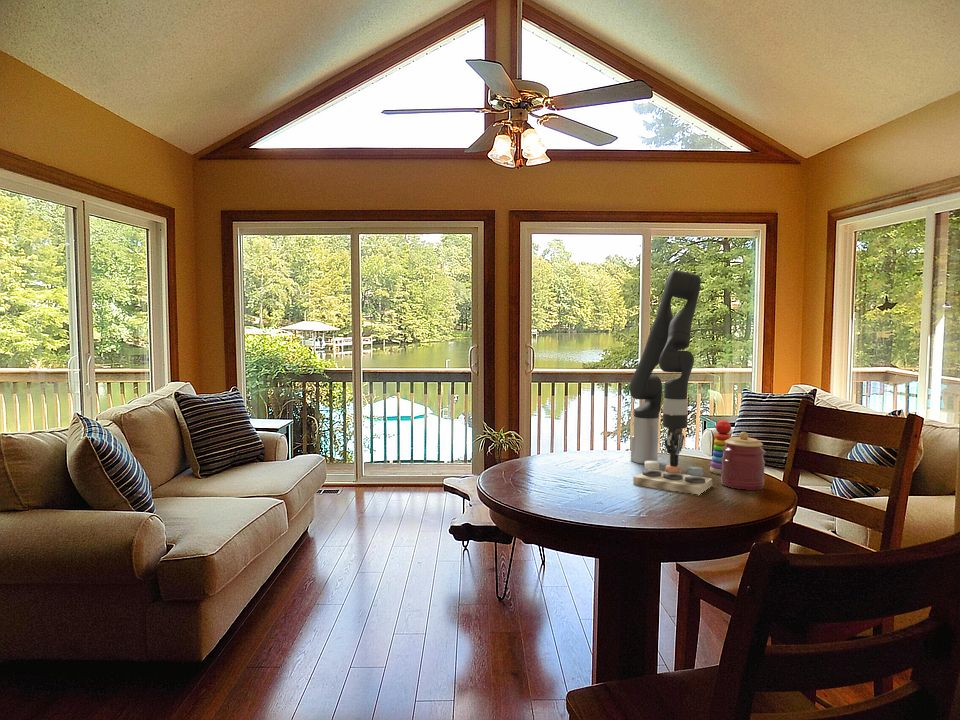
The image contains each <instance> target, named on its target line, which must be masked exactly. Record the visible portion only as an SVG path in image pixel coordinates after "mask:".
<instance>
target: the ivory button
mask: <svg viewBox="0 0 960 720" xmlns="http://www.w3.org/2000/svg"><path fill="white" fill-rule="evenodd" d="M644 469H645V470H648V469H650V470H658V471H659V469H660V461H658V462H657V461H645V464H644Z"/></svg>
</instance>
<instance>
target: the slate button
mask: <svg viewBox="0 0 960 720" xmlns="http://www.w3.org/2000/svg"><path fill="white" fill-rule="evenodd" d="M686 473H687V474H686V475H691V476H698V477H704V468H703V467H699V466H687V472H686Z"/></svg>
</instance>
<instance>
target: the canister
mask: <svg viewBox="0 0 960 720" xmlns="http://www.w3.org/2000/svg"><path fill="white" fill-rule="evenodd" d="M725 443H726V445H725V446H723V447H722V450H723V457H722V458H721V459H722V473H721V474H720V481H721V485H722V484H723V485H722V486H724V485H725V486H724V487H726V486H728V487H727V488H729V487H731V489H734V488H737V489H736V490H740V489H746V490H745V491H758V490H757V489H761V490H762V488H763V489H764V485H765V464H766V461H765V460H764V455H765V454H766V450H765V449H763V445H764V444H763V443H762V442H761V441H760V440H758V439H757V438H754V437H749V434H748V432H746V431H741V432H740V433H739V436H731V437H730V438H729V439H727V440H725Z"/></svg>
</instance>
